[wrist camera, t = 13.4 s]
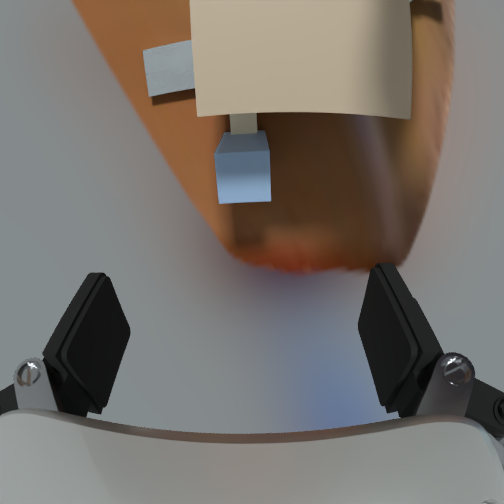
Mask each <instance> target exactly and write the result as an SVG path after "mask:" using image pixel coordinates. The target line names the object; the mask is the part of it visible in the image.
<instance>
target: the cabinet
mask: <svg viewBox="0 0 504 504" xmlns="http://www.w3.org/2000/svg"><path fill="white" fill-rule="evenodd" d="M190 17H191V35H192V52H193V66H194V80H195V93H196V105H197V116H198V117H200V116H211V115H224V114H239V113H262V112H323V113H345V114H360V115H372V116H383V117H392V118H401V119H409V120H410V118H411V100H412V32H411V15H410V3H409V0H190Z"/></svg>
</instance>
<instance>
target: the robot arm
mask: <svg viewBox="0 0 504 504" xmlns="http://www.w3.org/2000/svg"><path fill="white" fill-rule="evenodd" d="M411 1H413V0H409V3H410V2H411ZM358 330H359V334H360V337H361V340H362V344H363V347H364V350H365V353H366V357H367V360H368V363H369V366H370V370H371V373H372V376H373V380H374V384H375V387H376V391H377V394H378V398H379V402H380V404H381V406H385V408H386V411H387V413H391V412H396V411H398V414H399V417H401V418H399V419H392V420H387V421H381V422H375V423H369V424H363V425H356V426H349V427H341V428H333V429H325V430H315V431H304V432H289V433H266V434H218V433H216V434H215V433H196V432H182V431H171V430H161V429H153V428H152V429H151V428H145V427H137V426H130V425H124V424H117V423H112V422H107V421H102V420H96V419H91V418H87V413H88V412H91V413H96V414H101V412H102V409H103V407H106V405H107V403H108V400H109V397H110V393H111V390H112V387H113V384H114V381H115V378H116V375H117V372H118V369H119V366H120V363H121V360H122V357H123V354H124V351H125V349H126V346H127V343H128V340H129V337H130V327H129V324H128V322H127V320H126V317H125V315H124V313H123V310H122V308H121V305H120V303H119V301H118V298H117V295H116V293H115V290H114V287H113V285H112V282H111V280H110V278H109V277H108V276H106V274H104V273H89V274H88V275H87V277H86V279H85V280H84V282H83V283H82V285H81V286H80V288H79V290H78V291H77V293H76V295H75V296H74V298H73V299H72V301H71V303H70V304H69V306H68V308H67V310H66V311H65V313H64V315H63V317H62V318H61V320H60V322H59V323H58V325H57V327H56V329H55V331H54V333H53V334H52V336H51V338H50V340H49V342H48V343H47V345H46V348H45V349H44V351H43V356H44V359H43V360H40V359H39V358H36V357H35V358H29V359H26V360H25V361H23V362H22V363H21V364H20V365H19V366H18V367H17V369H16V370H15V373H14V384H12V385H10V386H8V387H7V388H5V389H3V390H2V391H0V504H504V393H503V392H502V391H500V390H497V389H495V388H494V387H492V386H489V385H488V384H486V383H484V382H482V381H480V380H478V379H476V378H475V370H474V366H473V365H472V363H471V361H470V360H469V359H468V358H467V357H465V356H463V355H462V354H459V353H456V352H451V353H450V352H449V353H446V354H444V353H443V350H442V348H441V346H440V344H439V342H438V340H437V338H436V336H435V334H434V332H433V330H432V329H431V327H430V325H429V323H428V321H427V319H426V317H425V315H424V313H423V311H422V310H421V308H420V306H419V304H418V302H417V301H416V299H415V298H413V297H412V295H411V293H410V291H409V290H408V288H407V286H406V284H405V283H404V281H403V279H402V278H401V276H400V274H399V272H398V271H397V269H396V267H395V266H394V264H393V263H378V264H376V266H375V268H372V269H371V271H370V275H369V279H368V284H367V288H366V293H365V297H364V301H363V305H362V309H361V313H360V317H359V321H358Z"/></svg>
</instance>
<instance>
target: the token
mask: <svg viewBox="0 0 504 504" xmlns="http://www.w3.org/2000/svg"><path fill="white" fill-rule="evenodd" d="M143 56H144V64H145V72H146V79H147V86H148V93H149V97H150V96H155V95H160V94H165V93H170V92H175V91H181V90H187V89H193V88H195V80H194V66H193V52H192V40H189V41H183V42H178V43H173V44H168V45H164V46H160V47H155V48H151V49H147V50H143Z"/></svg>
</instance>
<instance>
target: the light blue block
mask: <svg viewBox="0 0 504 504" xmlns="http://www.w3.org/2000/svg"><path fill="white" fill-rule="evenodd" d="M230 127H231V132H224V134H223V137H222V139H221V141H220V143H219V145H218V147H217V149H216V151H215V153H214V156H215V167H216V178H217V188H218V198H219V204H221V203H241V202H264V201H271V180H270V150H269V146H268V142H267V138H266V134H265V130H259V131H257V114H256V113H239V114H230Z"/></svg>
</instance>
